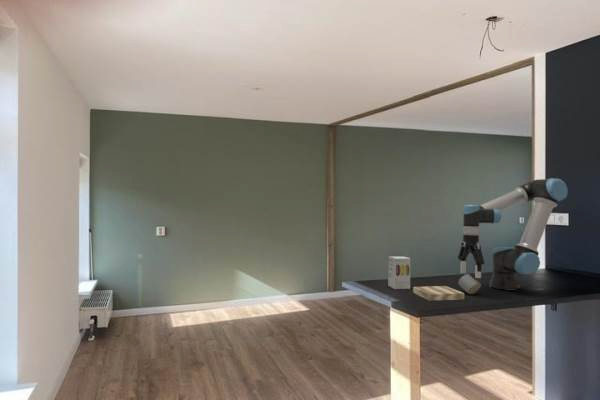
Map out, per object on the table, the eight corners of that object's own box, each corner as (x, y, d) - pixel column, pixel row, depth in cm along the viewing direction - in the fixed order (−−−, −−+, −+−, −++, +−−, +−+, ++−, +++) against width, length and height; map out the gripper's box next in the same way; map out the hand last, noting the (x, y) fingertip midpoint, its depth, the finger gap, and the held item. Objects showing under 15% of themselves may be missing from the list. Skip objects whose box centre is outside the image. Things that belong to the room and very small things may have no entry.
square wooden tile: (445, 291, 219) (445, 285, 219) (464, 299, 201) (464, 293, 201) (413, 292, 216) (413, 286, 216) (429, 300, 198) (429, 294, 198)
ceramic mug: (468, 297, 212) (470, 287, 207) (456, 286, 218) (458, 277, 213) (484, 289, 215) (486, 279, 210) (472, 278, 221) (474, 268, 216)
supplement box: (394, 289, 224) (394, 258, 224) (387, 286, 233) (387, 256, 233) (410, 288, 226) (410, 257, 226) (403, 285, 235) (403, 255, 235)
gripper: (451, 232, 226) (451, 271, 226) (478, 236, 202) (477, 280, 201) (464, 232, 227) (463, 271, 227) (492, 236, 203) (491, 279, 203)
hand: (470, 275), depth 214 cm, fingers open, 13 cm apart
